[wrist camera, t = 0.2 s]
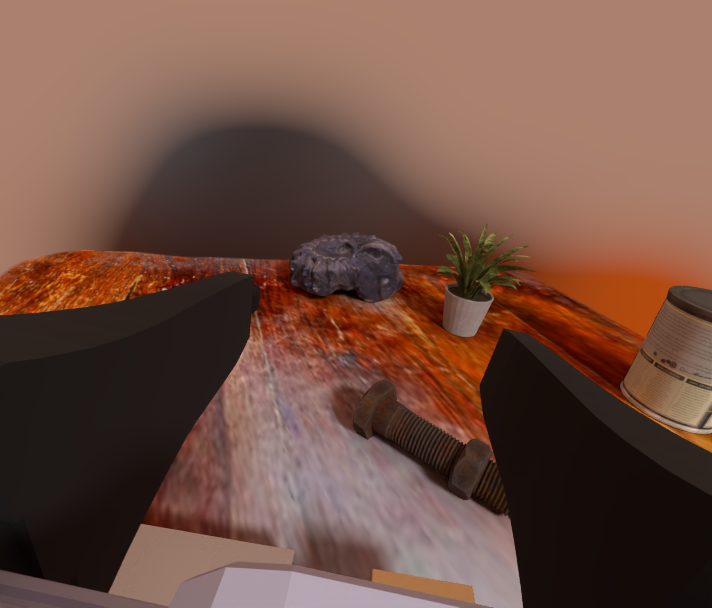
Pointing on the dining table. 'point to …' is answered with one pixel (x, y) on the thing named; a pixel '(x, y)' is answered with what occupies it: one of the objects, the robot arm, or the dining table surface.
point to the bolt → (431, 445)
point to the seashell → (347, 266)
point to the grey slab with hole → (181, 561)
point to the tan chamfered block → (424, 585)
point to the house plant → (473, 284)
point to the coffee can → (676, 363)
